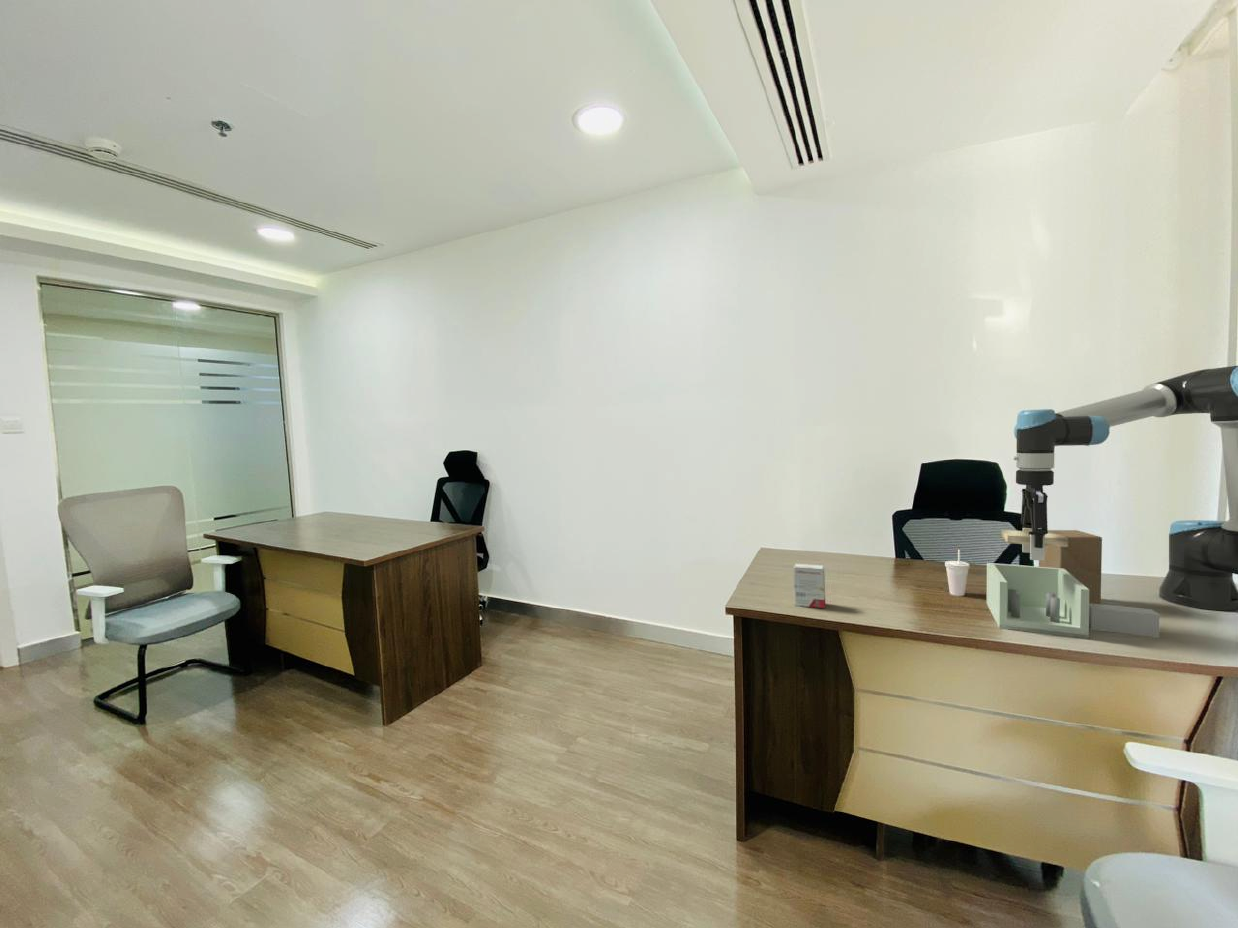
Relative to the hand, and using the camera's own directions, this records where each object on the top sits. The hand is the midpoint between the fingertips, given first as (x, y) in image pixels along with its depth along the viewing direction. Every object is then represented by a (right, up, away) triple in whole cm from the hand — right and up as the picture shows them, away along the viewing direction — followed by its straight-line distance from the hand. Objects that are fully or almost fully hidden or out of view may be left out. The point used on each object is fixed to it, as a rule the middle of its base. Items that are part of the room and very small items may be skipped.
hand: (1032, 555), depth 129 cm
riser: (+16, -17, -7) cm, 24 cm away
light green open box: (+1, -17, +1) cm, 17 cm away
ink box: (-51, -18, +18) cm, 57 cm away
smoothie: (-4, -16, +23) cm, 28 cm away
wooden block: (+21, -16, +13) cm, 30 cm away
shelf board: (0, +4, 0) cm, 4 cm away
